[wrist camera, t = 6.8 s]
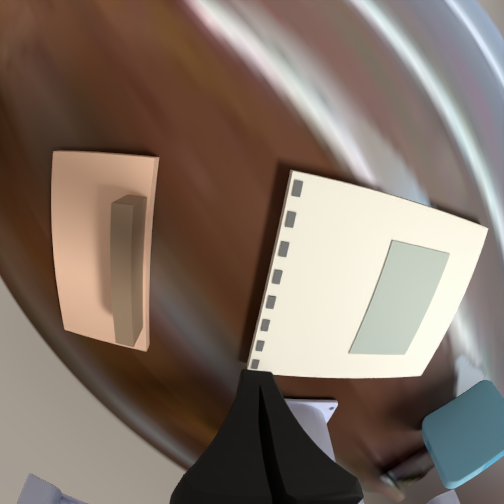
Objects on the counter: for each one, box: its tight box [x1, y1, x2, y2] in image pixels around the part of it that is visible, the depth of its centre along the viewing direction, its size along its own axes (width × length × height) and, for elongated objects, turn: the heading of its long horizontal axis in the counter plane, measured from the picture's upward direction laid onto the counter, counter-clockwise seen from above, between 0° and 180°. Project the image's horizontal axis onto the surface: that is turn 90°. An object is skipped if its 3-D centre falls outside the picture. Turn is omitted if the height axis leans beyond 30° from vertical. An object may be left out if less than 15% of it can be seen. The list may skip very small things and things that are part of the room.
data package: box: [422, 380, 504, 489], centre depth 24 cm, size 12×4×12 cm, turn 117°
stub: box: [51, 150, 159, 351], centre depth 18 cm, size 15×8×4 cm, turn 170°
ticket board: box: [247, 170, 488, 378], centre depth 21 cm, size 16×18×1 cm
